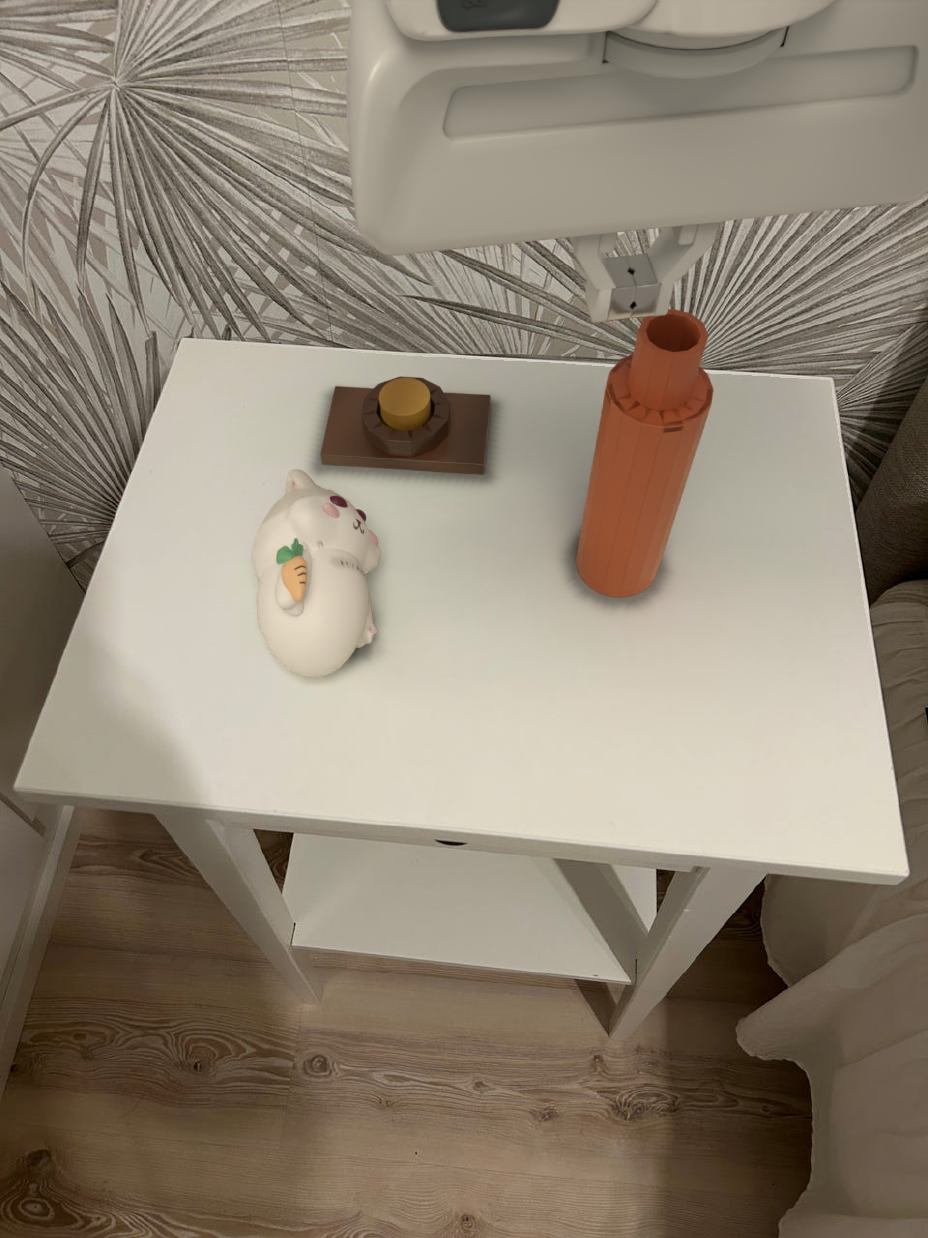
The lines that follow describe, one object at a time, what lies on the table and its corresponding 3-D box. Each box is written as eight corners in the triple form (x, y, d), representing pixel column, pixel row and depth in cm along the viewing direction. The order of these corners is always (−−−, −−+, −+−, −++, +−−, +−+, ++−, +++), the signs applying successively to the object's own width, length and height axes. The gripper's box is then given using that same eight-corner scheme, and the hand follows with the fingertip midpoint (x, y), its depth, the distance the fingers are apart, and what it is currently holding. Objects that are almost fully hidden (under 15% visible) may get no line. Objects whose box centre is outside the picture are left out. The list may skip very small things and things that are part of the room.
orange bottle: (645, 526, 68) (712, 288, 49) (666, 591, 65) (745, 366, 46) (568, 535, 68) (605, 300, 49) (585, 602, 65) (631, 379, 46)
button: (433, 394, 72) (432, 378, 70) (428, 432, 70) (427, 416, 68) (384, 391, 72) (382, 375, 70) (377, 429, 70) (375, 413, 68)
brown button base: (490, 404, 75) (491, 378, 72) (483, 474, 71) (483, 449, 68) (336, 395, 75) (331, 369, 73) (322, 464, 72) (316, 439, 69)
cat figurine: (312, 636, 53) (307, 426, 59) (213, 670, 56) (217, 469, 62) (404, 676, 60) (391, 487, 66) (312, 704, 64) (307, 522, 70)
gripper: (1023, -195, 26) (848, 231, 37) (308, -141, 24) (363, 282, 36) (1139, -95, 22) (908, 335, 34) (324, -27, 21) (378, 396, 33)
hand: (624, 308), depth 35 cm, fingers closed
